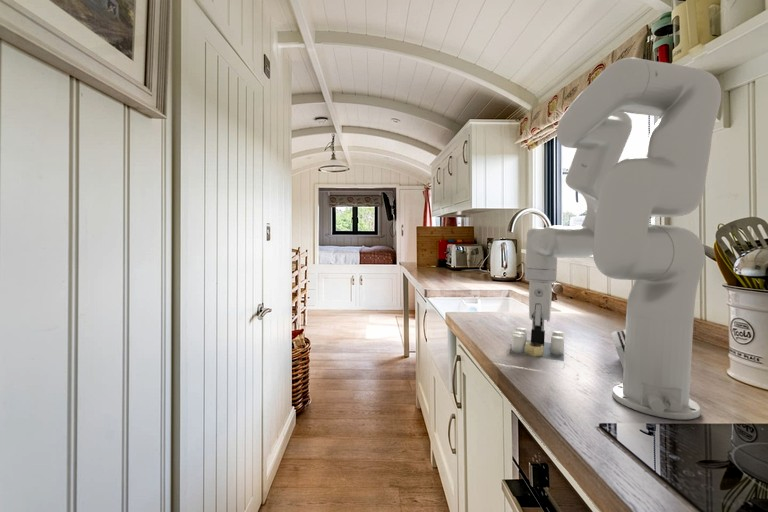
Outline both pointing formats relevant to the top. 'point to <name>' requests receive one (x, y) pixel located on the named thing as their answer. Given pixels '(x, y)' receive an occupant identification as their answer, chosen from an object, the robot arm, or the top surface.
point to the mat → (544, 352)
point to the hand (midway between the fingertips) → (537, 345)
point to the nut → (534, 349)
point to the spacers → (521, 338)
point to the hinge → (619, 345)
